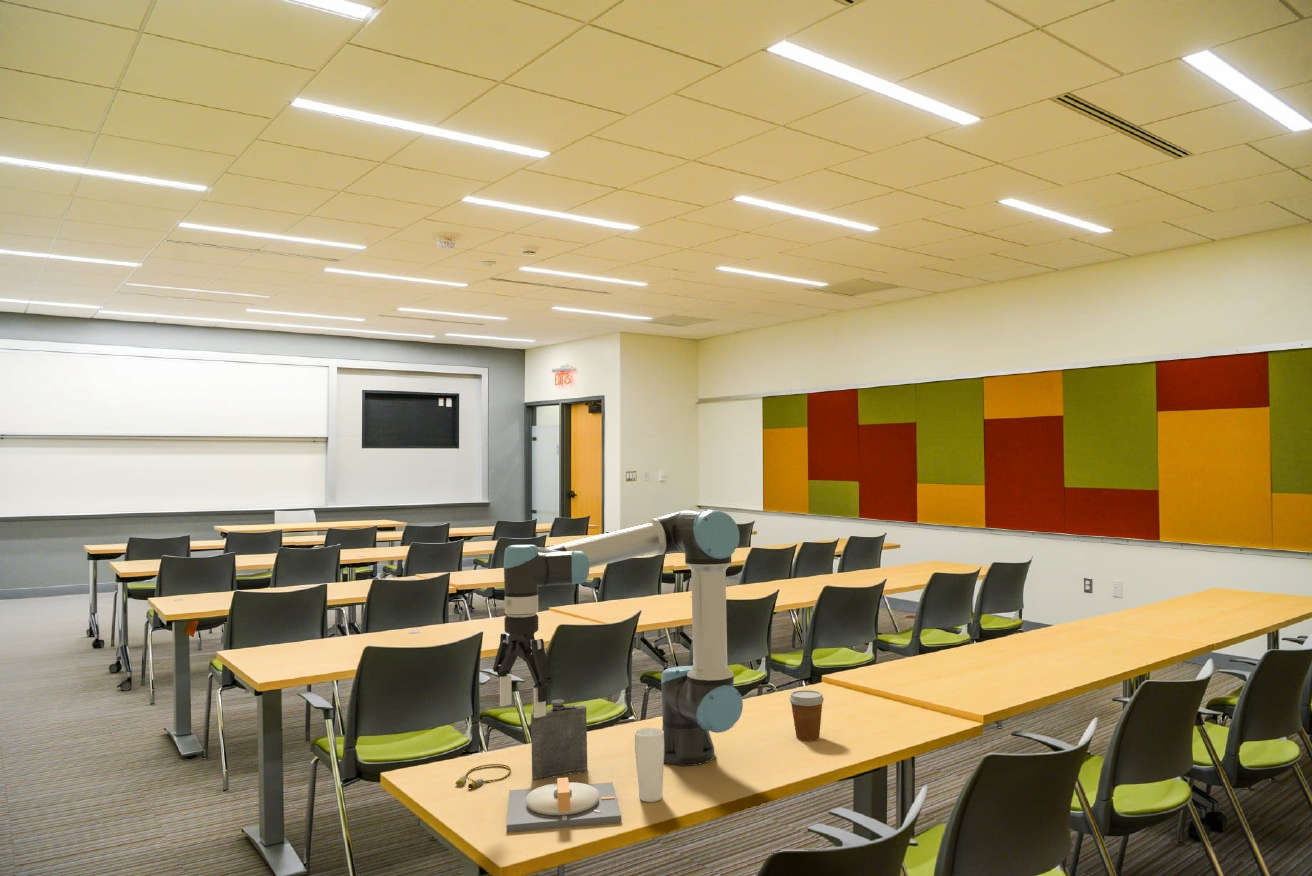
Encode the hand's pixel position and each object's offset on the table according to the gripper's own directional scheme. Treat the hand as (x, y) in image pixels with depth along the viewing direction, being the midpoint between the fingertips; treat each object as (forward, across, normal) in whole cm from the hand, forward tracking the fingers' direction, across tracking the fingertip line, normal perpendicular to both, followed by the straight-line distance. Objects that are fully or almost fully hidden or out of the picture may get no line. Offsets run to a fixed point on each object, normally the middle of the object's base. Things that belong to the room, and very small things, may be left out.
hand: (522, 710), depth 187 cm
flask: (+22, -14, +20) cm, 32 cm away
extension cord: (+23, -26, +5) cm, 35 cm away
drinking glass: (+22, +15, +24) cm, 36 cm away
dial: (+20, +6, +6) cm, 22 cm away
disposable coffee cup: (+22, +14, +85) cm, 88 cm away
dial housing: (+22, +6, +7) cm, 23 cm away
